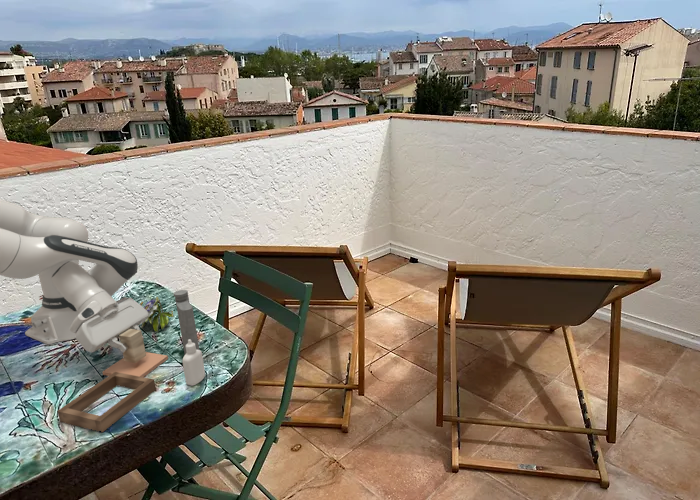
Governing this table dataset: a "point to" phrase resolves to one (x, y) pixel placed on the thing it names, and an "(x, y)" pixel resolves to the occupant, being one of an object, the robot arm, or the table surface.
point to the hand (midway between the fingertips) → (133, 345)
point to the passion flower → (153, 309)
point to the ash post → (133, 345)
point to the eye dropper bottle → (193, 364)
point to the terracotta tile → (137, 365)
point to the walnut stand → (101, 423)
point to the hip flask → (186, 318)
